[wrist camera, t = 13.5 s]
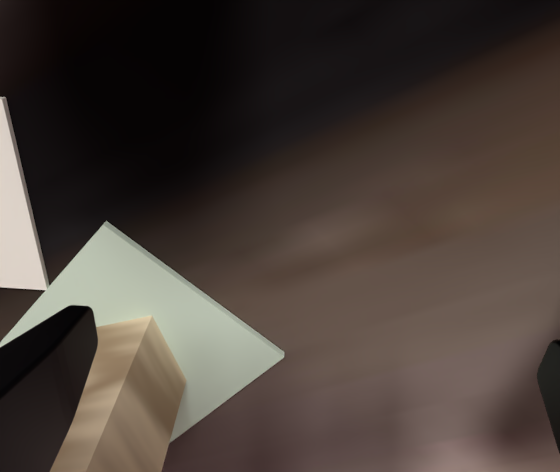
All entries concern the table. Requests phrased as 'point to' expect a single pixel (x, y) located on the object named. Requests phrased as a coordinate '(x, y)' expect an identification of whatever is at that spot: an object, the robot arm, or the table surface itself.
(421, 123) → the table surface
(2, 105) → the tile
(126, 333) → the oak block
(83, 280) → the felt mat
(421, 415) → the table surface
